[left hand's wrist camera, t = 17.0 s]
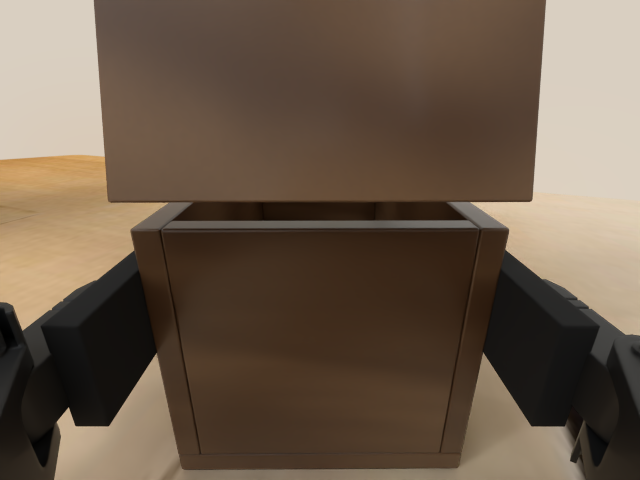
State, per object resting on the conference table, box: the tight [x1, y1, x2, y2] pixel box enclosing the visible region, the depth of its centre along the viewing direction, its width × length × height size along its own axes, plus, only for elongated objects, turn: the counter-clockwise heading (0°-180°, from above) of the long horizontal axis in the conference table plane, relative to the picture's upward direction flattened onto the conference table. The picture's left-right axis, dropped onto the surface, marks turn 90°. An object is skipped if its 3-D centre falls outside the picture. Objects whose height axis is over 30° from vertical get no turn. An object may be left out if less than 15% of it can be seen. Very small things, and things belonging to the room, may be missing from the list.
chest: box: [131, 202, 509, 469], centre depth 18 cm, size 17×10×9 cm, turn 0°
